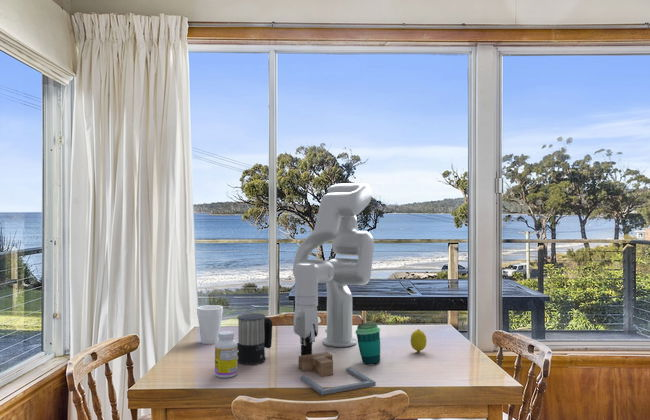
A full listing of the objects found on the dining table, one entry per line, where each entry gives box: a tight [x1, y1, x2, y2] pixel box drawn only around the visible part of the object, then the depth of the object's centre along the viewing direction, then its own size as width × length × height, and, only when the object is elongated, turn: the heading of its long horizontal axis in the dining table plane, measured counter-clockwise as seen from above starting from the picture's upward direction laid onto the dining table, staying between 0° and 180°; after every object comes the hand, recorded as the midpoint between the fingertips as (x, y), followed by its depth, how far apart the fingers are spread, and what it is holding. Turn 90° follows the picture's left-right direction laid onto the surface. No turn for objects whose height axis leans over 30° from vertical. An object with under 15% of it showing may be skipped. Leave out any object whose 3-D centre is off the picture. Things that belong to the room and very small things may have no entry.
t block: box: [297, 351, 334, 377], centre depth 155 cm, size 10×10×4 cm
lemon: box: [409, 328, 427, 353], centre depth 175 cm, size 6×6×8 cm
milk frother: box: [236, 312, 273, 365], centre depth 168 cm, size 14×16×15 cm
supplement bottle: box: [214, 330, 238, 379], centre depth 151 cm, size 7×7×13 cm
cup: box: [355, 322, 381, 366], centre depth 164 cm, size 8×8×12 cm
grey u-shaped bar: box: [299, 367, 377, 396], centre depth 145 cm, size 14×17×1 cm
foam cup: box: [196, 304, 224, 345], centre depth 189 cm, size 10×9×13 cm
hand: (306, 356), depth 164 cm, fingers closed
